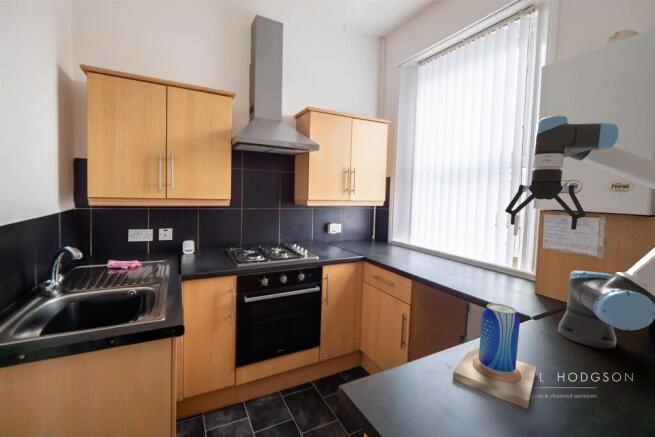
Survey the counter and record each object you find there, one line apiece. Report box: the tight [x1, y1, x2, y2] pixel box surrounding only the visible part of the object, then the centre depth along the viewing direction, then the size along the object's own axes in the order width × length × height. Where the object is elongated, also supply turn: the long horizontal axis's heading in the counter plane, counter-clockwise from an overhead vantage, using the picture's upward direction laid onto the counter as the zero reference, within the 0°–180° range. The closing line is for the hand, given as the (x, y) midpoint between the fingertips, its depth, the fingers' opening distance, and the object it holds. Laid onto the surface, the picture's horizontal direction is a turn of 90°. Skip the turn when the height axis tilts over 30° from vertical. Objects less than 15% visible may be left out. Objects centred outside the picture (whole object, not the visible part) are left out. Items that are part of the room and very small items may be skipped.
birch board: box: [452, 345, 537, 410], centre depth 79 cm, size 16×18×2 cm
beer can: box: [478, 302, 521, 375], centre depth 78 cm, size 8×8×16 cm
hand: (540, 237), depth 95 cm, fingers open, 13 cm apart
